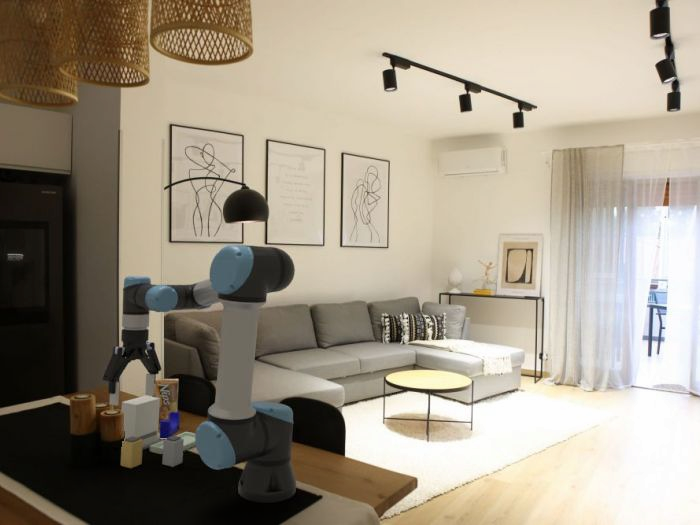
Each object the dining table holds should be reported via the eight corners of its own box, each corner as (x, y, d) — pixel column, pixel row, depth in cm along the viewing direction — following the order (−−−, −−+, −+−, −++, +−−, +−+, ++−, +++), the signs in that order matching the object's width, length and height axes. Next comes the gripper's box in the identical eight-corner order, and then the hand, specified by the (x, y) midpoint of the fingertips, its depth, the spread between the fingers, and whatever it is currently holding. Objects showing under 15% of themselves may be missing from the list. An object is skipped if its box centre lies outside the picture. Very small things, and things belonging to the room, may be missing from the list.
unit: (162, 442, 180) (164, 398, 180) (133, 453, 169) (136, 406, 169) (143, 437, 184) (145, 394, 184) (114, 448, 173) (116, 402, 173)
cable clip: (166, 428, 195) (167, 411, 195) (179, 429, 195) (179, 412, 195) (154, 439, 183) (155, 421, 183) (168, 440, 183) (169, 422, 183)
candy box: (176, 419, 205) (179, 378, 205) (175, 423, 201) (178, 381, 201) (151, 420, 203) (153, 378, 203) (150, 423, 199) (152, 381, 199)
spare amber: (141, 463, 162) (142, 437, 162) (131, 468, 158) (132, 441, 158) (131, 461, 163) (132, 435, 163) (120, 465, 160) (121, 439, 160)
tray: (206, 441, 183) (206, 436, 183) (171, 456, 168) (171, 450, 168) (186, 436, 187) (186, 431, 187) (149, 451, 172) (149, 445, 172)
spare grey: (182, 462, 164) (183, 436, 164) (172, 466, 161) (174, 440, 161) (171, 459, 166) (173, 434, 166) (162, 464, 162) (163, 438, 162)
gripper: (156, 323, 178) (153, 390, 178) (91, 331, 155) (87, 407, 155) (174, 325, 175) (172, 393, 175) (110, 333, 152) (107, 411, 152)
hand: (132, 400), depth 165 cm, fingers open, 13 cm apart
